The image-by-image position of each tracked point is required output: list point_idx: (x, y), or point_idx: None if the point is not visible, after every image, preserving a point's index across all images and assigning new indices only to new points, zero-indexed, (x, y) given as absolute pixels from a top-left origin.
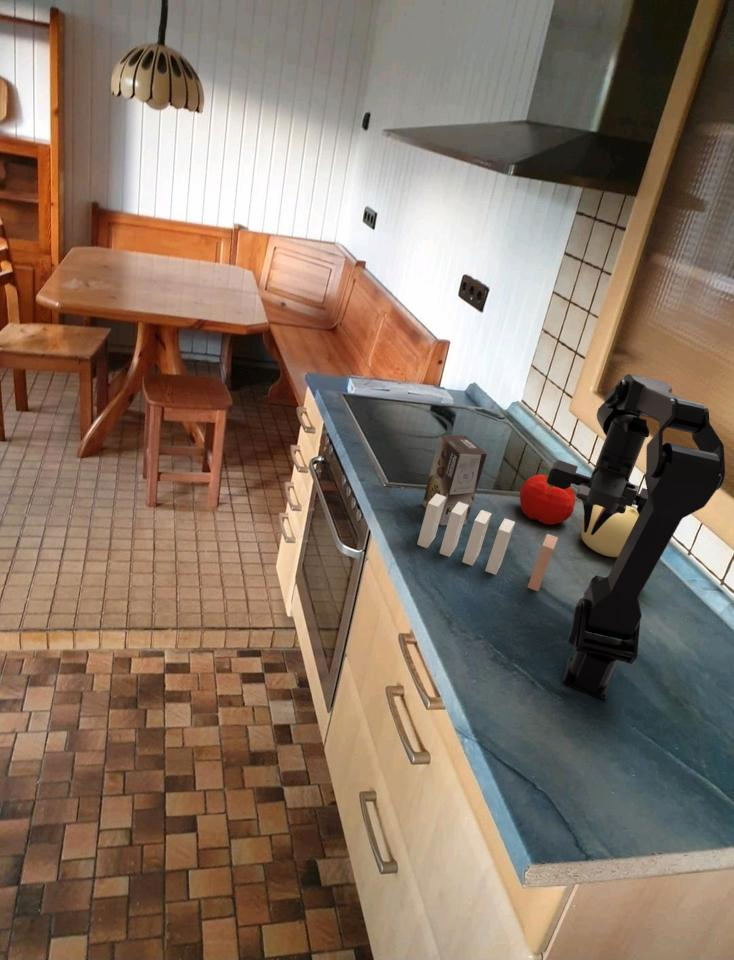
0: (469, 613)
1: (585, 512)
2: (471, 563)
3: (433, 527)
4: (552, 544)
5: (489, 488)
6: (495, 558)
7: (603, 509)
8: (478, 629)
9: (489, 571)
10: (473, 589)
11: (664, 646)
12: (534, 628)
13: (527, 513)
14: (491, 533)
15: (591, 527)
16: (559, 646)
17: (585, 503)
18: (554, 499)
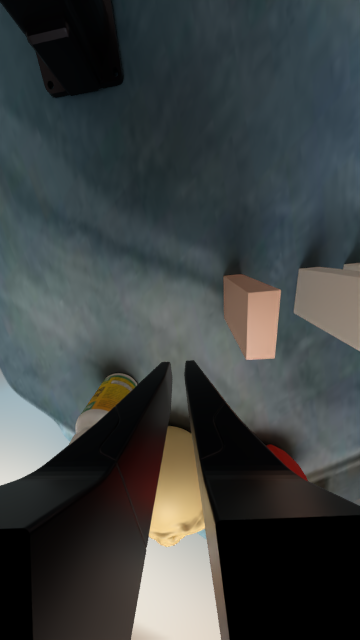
0: (336, 72)
1: (231, 417)
2: (350, 264)
3: None
4: (254, 316)
5: (333, 476)
6: (330, 270)
7: (129, 500)
8: (309, 16)
9: (312, 267)
10: (335, 183)
11: (33, 279)
12: (204, 145)
13: (280, 450)
14: (319, 379)
15: (192, 459)
16: (150, 123)
17: (298, 493)
18: None
